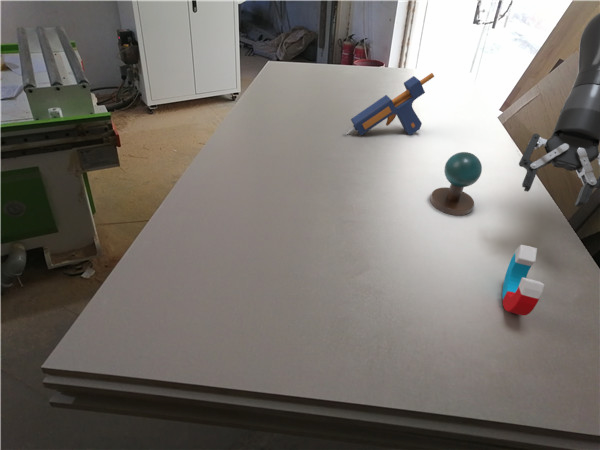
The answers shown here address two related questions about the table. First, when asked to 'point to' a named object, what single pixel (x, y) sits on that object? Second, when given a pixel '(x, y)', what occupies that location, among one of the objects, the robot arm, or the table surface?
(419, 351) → the table surface
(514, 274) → the magnet
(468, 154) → the ball stand
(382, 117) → the glue gun
